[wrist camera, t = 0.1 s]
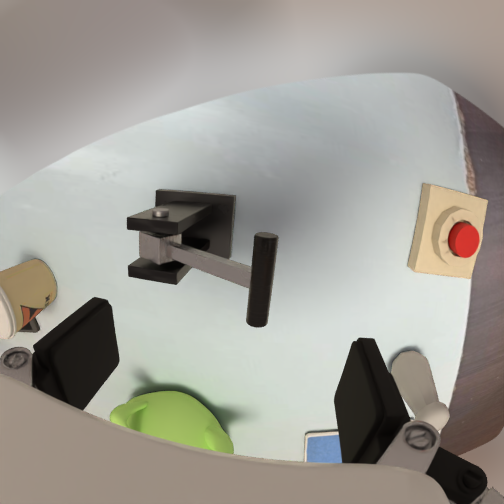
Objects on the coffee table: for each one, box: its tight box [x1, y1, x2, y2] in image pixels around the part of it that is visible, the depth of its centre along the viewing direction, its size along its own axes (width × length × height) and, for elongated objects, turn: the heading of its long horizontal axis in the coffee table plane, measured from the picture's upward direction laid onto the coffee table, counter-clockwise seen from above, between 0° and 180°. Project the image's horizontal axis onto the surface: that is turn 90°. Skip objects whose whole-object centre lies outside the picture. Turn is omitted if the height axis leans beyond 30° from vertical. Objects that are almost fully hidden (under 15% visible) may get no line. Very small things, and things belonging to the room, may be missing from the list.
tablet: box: [304, 420, 414, 463], centre depth 41 cm, size 19×13×1 cm, turn 96°
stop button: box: [448, 222, 480, 258], centre depth 26 cm, size 4×4×2 cm
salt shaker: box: [391, 350, 450, 431], centre depth 29 cm, size 6×6×13 cm
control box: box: [408, 183, 488, 279], centre depth 28 cm, size 10×9×4 cm
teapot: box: [110, 391, 234, 454], centre depth 36 cm, size 19×20×14 cm
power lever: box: [139, 231, 279, 327], centre depth 21 cm, size 12×6×2 cm, turn 84°
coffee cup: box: [0, 259, 57, 339], centre depth 33 cm, size 9×9×12 cm
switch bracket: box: [127, 189, 236, 285], centre depth 28 cm, size 9×7×12 cm
